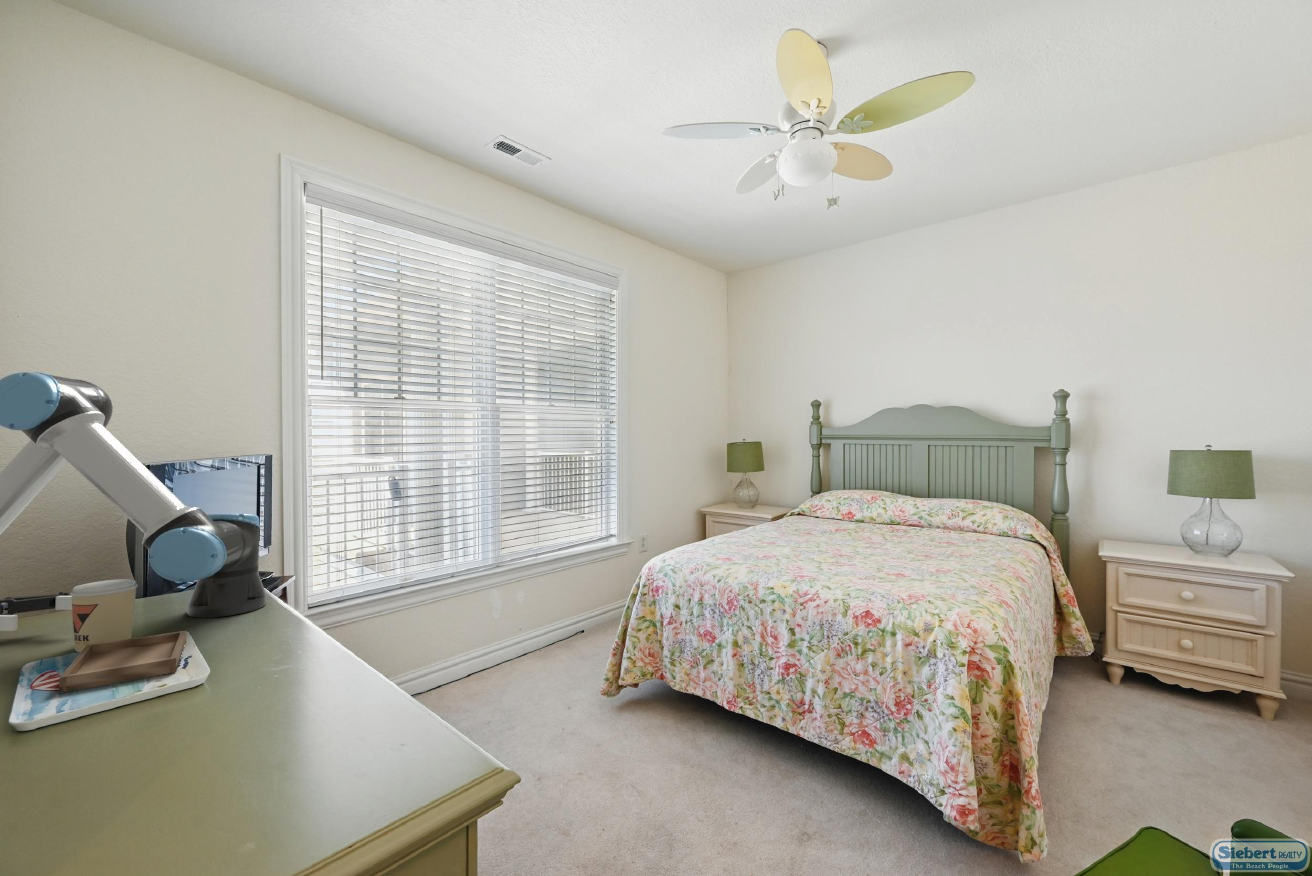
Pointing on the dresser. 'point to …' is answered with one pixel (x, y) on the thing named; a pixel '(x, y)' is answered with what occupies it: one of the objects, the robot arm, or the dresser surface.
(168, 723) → the dresser surface
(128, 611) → the coffee cup
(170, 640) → the walnut tray
